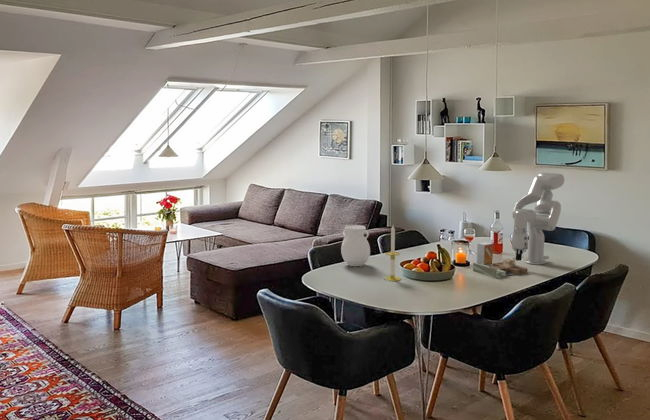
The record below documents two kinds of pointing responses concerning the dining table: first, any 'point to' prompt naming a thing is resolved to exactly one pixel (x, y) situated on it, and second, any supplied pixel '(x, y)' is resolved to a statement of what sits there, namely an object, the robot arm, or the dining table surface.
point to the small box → (484, 253)
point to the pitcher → (355, 245)
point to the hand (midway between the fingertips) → (518, 260)
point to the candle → (392, 257)
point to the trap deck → (499, 270)
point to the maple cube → (509, 262)
